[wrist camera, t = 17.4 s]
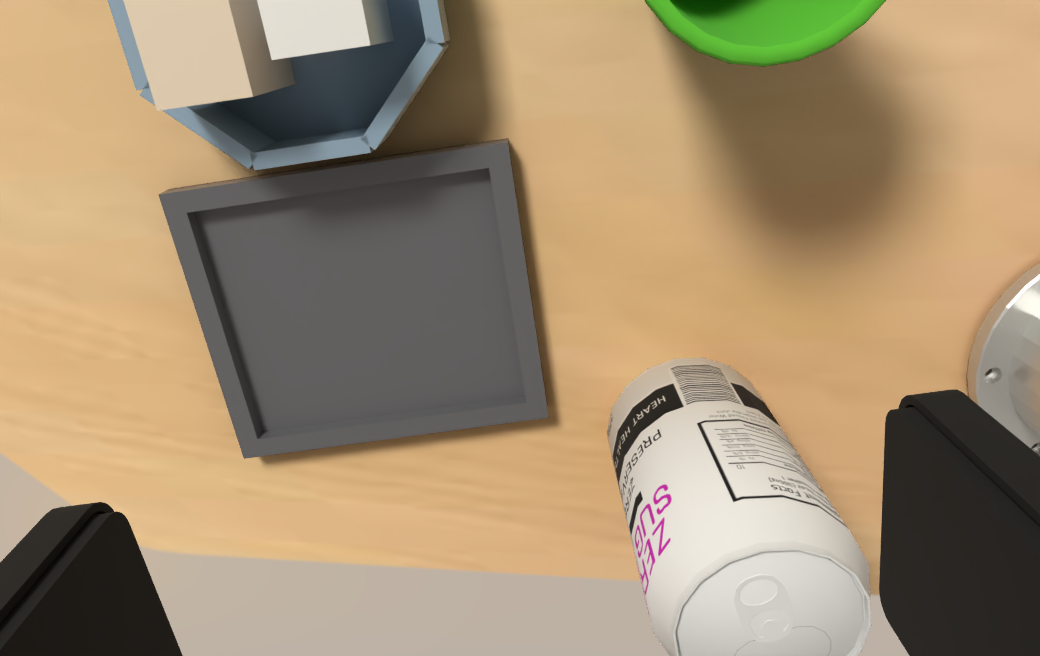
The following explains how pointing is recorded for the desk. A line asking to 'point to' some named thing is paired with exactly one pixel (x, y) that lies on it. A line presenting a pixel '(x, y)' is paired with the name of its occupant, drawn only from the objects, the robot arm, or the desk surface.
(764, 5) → the cup
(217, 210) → the tray
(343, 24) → the white block
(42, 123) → the desk surface
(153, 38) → the beige rectangular block
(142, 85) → the bowl
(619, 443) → the supplement can
